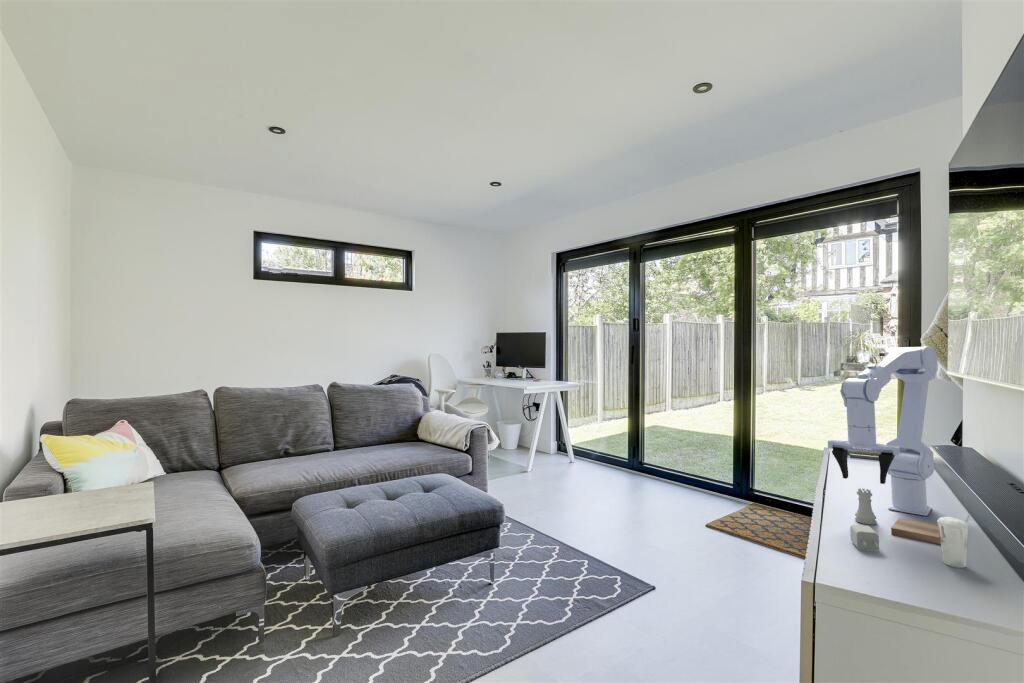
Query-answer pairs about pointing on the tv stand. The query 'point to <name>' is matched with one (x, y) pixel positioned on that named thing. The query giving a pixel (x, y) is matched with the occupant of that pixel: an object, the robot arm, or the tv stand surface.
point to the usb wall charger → (864, 538)
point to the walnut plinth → (916, 530)
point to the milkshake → (953, 540)
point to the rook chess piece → (865, 508)
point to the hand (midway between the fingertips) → (863, 480)
